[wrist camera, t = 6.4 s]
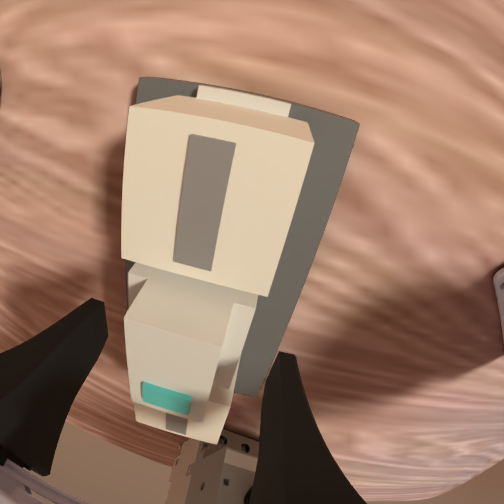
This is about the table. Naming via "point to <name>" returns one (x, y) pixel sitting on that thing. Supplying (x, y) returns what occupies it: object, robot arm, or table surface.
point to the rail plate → (229, 208)
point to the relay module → (182, 339)
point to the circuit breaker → (214, 471)
